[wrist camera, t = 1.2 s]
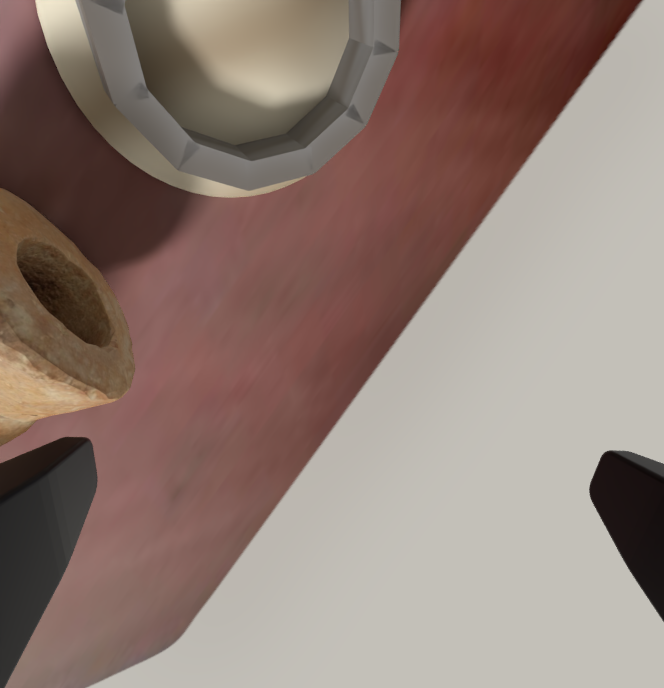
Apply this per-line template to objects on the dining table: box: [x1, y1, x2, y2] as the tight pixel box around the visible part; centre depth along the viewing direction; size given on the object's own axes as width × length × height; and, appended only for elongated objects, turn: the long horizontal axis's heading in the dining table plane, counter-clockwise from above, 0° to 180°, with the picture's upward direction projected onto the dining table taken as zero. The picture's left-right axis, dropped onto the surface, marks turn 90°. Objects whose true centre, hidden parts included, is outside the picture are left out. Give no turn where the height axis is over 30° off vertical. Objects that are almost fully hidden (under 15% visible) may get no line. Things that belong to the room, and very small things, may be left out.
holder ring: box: [35, 0, 401, 198], centre depth 19 cm, size 14×14×3 cm
